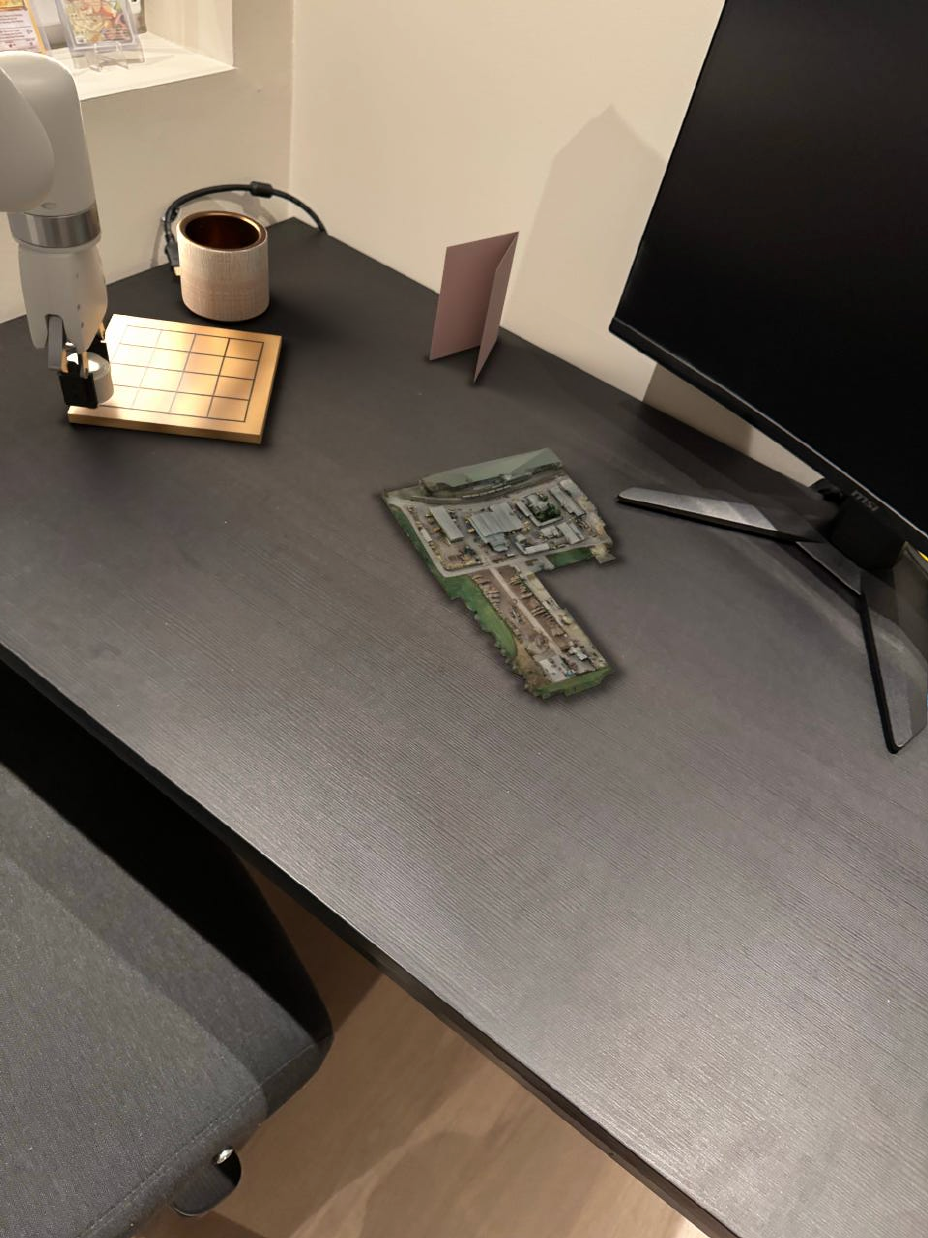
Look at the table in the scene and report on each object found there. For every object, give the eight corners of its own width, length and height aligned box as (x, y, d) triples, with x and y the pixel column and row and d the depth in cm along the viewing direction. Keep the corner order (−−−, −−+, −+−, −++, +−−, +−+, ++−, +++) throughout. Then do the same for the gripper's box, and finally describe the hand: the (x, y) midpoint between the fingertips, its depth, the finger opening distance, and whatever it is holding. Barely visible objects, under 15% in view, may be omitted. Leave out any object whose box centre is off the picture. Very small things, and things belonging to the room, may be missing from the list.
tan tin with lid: (60, 402, 88) (52, 372, 85) (72, 375, 91) (66, 345, 88) (108, 407, 88) (102, 378, 85) (119, 381, 91) (114, 352, 89)
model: (525, 712, 75) (529, 702, 74) (381, 497, 90) (382, 485, 89) (704, 643, 84) (710, 633, 83) (545, 458, 99) (549, 447, 98)
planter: (260, 331, 107) (259, 258, 100) (173, 317, 106) (165, 242, 98) (275, 288, 114) (275, 218, 107) (193, 275, 113) (187, 202, 106)
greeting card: (492, 336, 115) (514, 227, 104) (527, 365, 112) (554, 256, 100) (425, 356, 109) (441, 243, 98) (461, 387, 106) (482, 273, 95)
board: (69, 422, 90) (67, 412, 89) (115, 322, 103) (113, 313, 102) (260, 443, 93) (260, 434, 92) (281, 344, 106) (281, 335, 105)
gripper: (38, 171, 81) (74, 341, 94) (-24, 257, 70) (26, 435, 83) (120, 184, 82) (143, 350, 95) (71, 270, 71) (106, 443, 84)
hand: (89, 388), depth 89 cm, fingers closed on tan tin with lid, 4 cm apart
